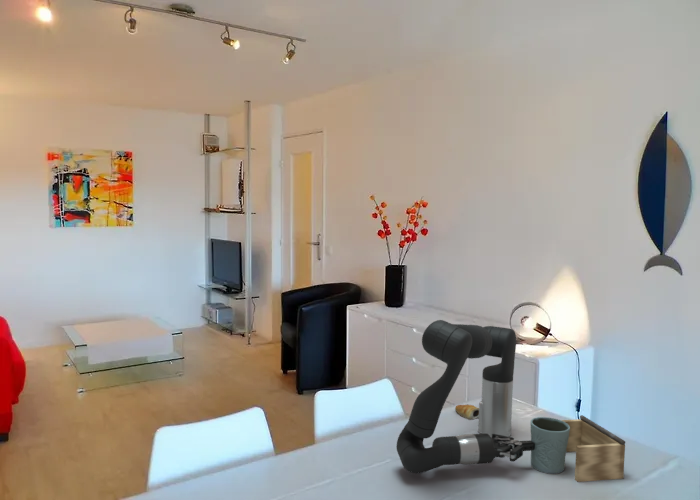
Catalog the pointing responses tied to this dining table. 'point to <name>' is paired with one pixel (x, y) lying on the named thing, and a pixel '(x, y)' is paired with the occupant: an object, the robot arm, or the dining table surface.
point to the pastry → (467, 411)
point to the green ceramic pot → (549, 444)
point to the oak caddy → (595, 451)
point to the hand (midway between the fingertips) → (533, 445)
